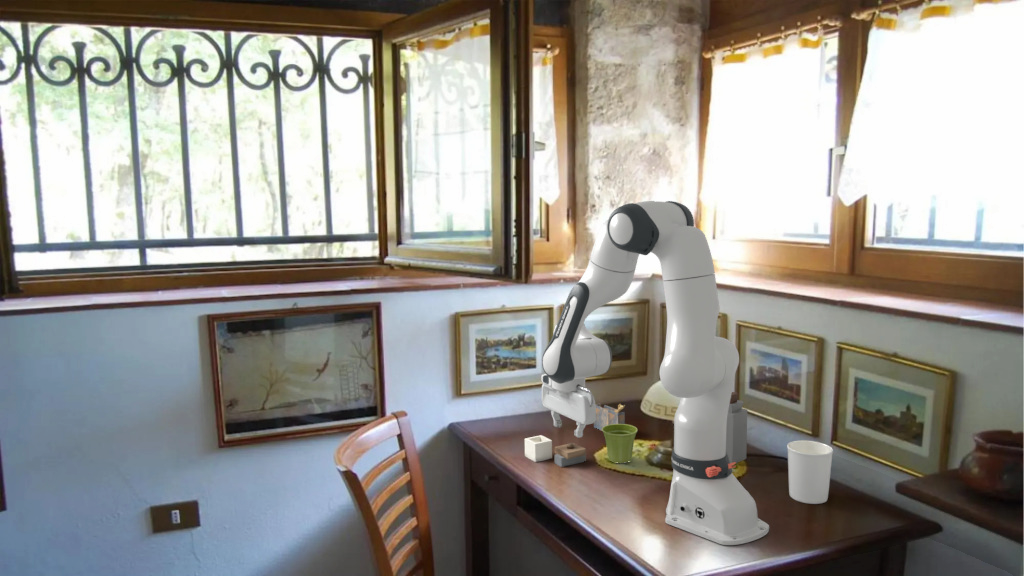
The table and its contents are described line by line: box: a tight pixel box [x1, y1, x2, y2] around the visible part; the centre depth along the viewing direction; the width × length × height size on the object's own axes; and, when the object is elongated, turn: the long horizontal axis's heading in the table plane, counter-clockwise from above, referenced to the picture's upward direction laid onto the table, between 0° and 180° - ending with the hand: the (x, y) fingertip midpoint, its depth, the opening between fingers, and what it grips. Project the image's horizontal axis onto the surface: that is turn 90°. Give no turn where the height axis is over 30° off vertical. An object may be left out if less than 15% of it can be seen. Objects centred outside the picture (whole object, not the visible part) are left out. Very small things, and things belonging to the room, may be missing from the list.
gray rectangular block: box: [554, 453, 587, 468], centre depth 194 cm, size 3×8×2 cm, turn 121°
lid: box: [554, 442, 587, 459], centre depth 194 cm, size 6×6×3 cm
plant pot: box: [602, 423, 638, 464], centre depth 194 cm, size 9×9×9 cm
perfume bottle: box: [726, 391, 748, 464], centre depth 194 cm, size 7×7×18 cm
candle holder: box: [786, 439, 834, 505], centre depth 168 cm, size 10×10×12 cm
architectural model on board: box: [593, 403, 626, 432], centre depth 219 cm, size 11×3×10 cm, turn 32°
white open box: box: [524, 434, 553, 463], centre depth 198 cm, size 5×5×5 cm
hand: (567, 431), depth 193 cm, fingers open, 8 cm apart
